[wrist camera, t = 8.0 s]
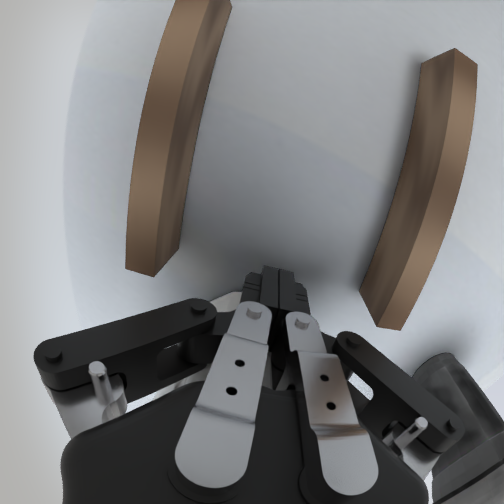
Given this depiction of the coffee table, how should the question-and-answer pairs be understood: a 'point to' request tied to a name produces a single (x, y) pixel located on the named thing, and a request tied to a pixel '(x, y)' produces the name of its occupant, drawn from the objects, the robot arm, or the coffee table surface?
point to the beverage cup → (465, 437)
